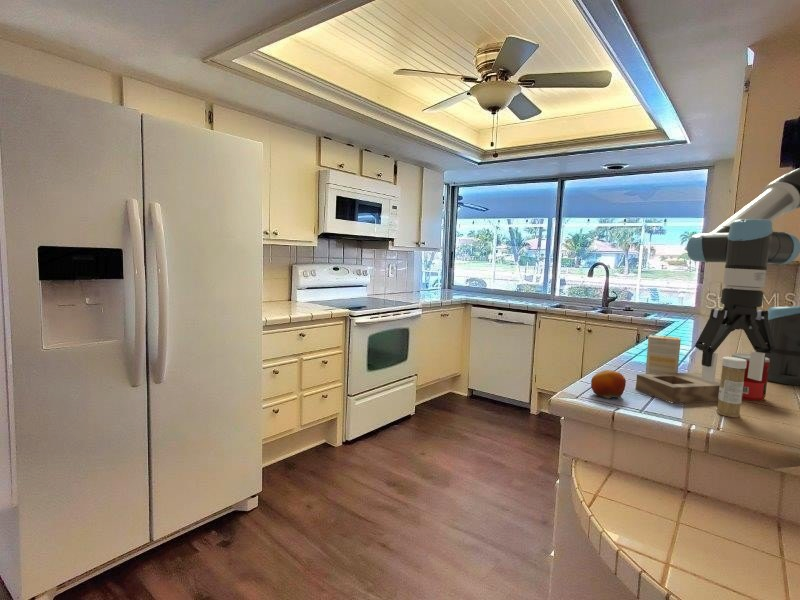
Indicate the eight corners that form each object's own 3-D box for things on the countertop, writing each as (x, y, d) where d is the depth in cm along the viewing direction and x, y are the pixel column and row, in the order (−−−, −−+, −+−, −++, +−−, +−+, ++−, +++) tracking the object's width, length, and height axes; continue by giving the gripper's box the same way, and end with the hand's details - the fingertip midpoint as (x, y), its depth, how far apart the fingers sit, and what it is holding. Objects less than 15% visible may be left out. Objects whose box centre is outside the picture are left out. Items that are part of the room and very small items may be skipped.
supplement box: (677, 380, 132) (681, 337, 131) (676, 384, 128) (681, 339, 127) (645, 375, 137) (649, 333, 135) (644, 379, 133) (648, 335, 131)
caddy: (694, 386, 127) (696, 372, 126) (735, 399, 115) (736, 384, 115) (635, 388, 122) (636, 374, 122) (671, 403, 110) (673, 387, 110)
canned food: (771, 402, 114) (776, 360, 113) (736, 399, 116) (741, 358, 114) (754, 393, 121) (759, 354, 120) (721, 390, 123) (726, 352, 122)
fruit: (611, 399, 107) (601, 367, 111) (591, 405, 114) (582, 375, 118) (638, 397, 110) (628, 366, 113) (617, 404, 116) (607, 374, 120)
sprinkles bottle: (717, 409, 107) (724, 355, 105) (741, 415, 104) (748, 358, 102) (714, 414, 103) (721, 357, 102) (739, 419, 100) (746, 361, 99)
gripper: (713, 287, 94) (702, 385, 96) (802, 291, 100) (790, 383, 102) (683, 285, 101) (673, 376, 103) (768, 288, 107) (757, 374, 109)
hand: (731, 379), depth 102 cm, fingers open, 13 cm apart
